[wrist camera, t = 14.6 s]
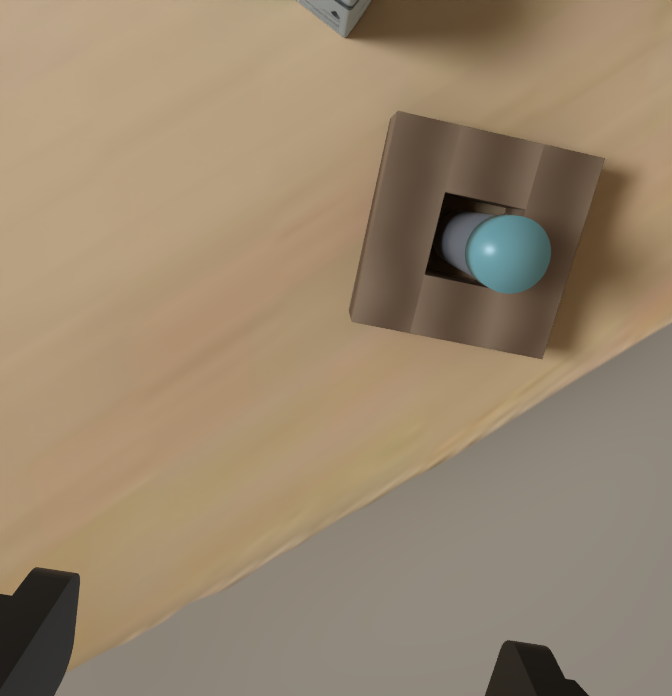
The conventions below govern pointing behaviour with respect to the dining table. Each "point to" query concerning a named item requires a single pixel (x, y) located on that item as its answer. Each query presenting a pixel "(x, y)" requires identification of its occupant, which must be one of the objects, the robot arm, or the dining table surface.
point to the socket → (421, 220)
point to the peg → (494, 248)
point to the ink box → (337, 12)
